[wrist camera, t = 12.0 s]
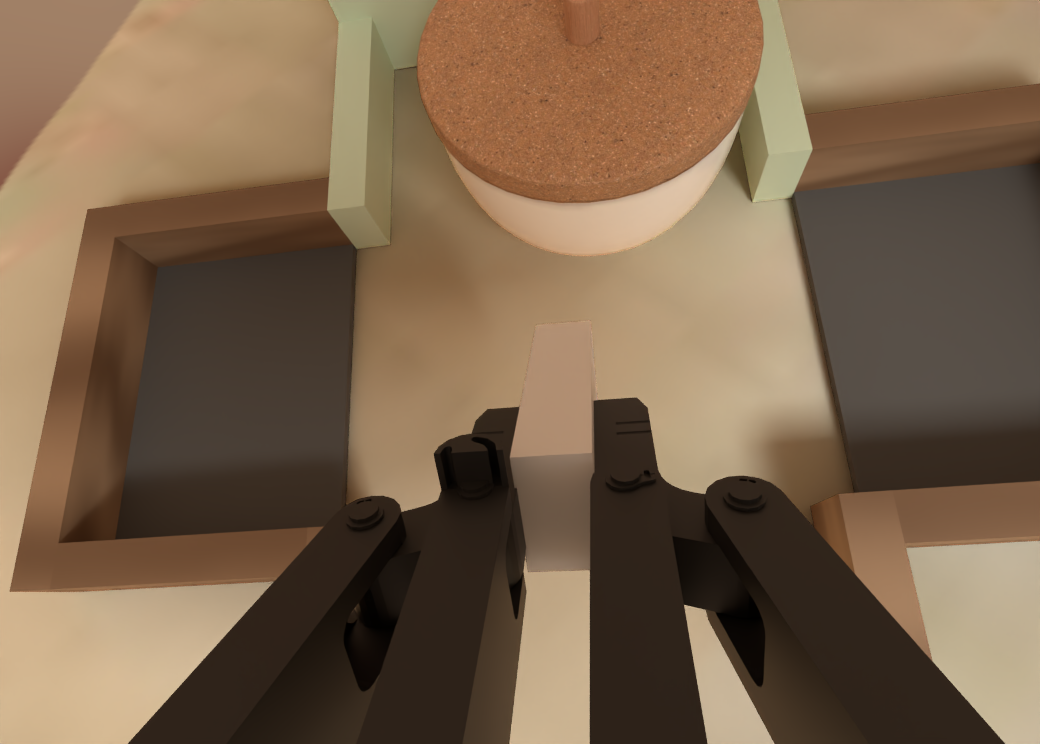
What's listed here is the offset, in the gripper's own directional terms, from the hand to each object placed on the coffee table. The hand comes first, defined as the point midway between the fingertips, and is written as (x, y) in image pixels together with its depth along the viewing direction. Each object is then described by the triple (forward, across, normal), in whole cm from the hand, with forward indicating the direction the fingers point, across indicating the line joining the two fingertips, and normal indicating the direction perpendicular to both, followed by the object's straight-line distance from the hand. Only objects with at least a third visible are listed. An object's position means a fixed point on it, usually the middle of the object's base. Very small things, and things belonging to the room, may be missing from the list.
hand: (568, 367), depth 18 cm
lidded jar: (+12, +1, +3) cm, 12 cm away
